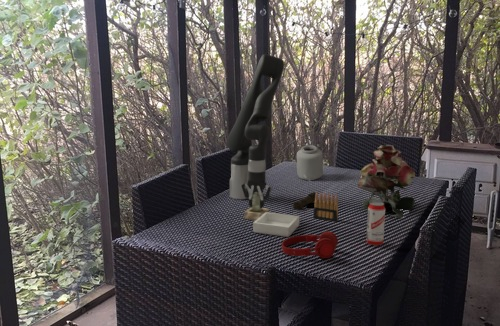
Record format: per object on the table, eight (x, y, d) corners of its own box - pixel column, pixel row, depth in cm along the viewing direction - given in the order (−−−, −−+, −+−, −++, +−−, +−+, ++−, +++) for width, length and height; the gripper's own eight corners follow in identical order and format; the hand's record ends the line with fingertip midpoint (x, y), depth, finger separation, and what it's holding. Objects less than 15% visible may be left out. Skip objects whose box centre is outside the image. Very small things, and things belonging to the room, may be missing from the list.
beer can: (364, 241, 191) (366, 201, 188) (379, 240, 192) (382, 200, 188) (369, 247, 185) (371, 206, 182) (385, 246, 186) (388, 205, 182)
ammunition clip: (338, 220, 215) (339, 193, 212) (336, 221, 213) (337, 195, 210) (314, 217, 219) (315, 190, 217) (313, 218, 218) (313, 191, 215)
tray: (253, 232, 201) (253, 222, 200) (265, 220, 214) (265, 211, 213) (288, 237, 195) (288, 227, 194) (299, 225, 209) (299, 216, 208)
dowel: (250, 216, 218) (250, 194, 216) (253, 213, 222) (253, 192, 220) (259, 217, 217) (259, 195, 215) (262, 214, 221) (262, 192, 219)
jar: (316, 183, 275) (317, 139, 270) (291, 181, 281) (292, 137, 275) (325, 176, 292) (327, 134, 287) (301, 174, 298) (302, 132, 292)
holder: (244, 218, 217) (244, 212, 217) (251, 212, 225) (251, 206, 224) (262, 221, 214) (262, 214, 213) (269, 215, 222) (269, 208, 221)
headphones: (340, 246, 185) (288, 247, 192) (338, 228, 184) (286, 229, 190) (334, 261, 171) (278, 262, 178) (332, 242, 170) (276, 243, 177)
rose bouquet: (416, 202, 241) (420, 141, 234) (408, 220, 215) (413, 152, 208) (363, 196, 251) (366, 137, 245) (349, 213, 225) (352, 147, 219)
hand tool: (300, 210, 229) (300, 201, 228) (292, 209, 231) (292, 199, 230) (320, 201, 243) (320, 192, 242) (313, 200, 246) (313, 191, 245)
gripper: (238, 170, 214) (238, 208, 217) (270, 172, 209) (270, 211, 213) (243, 166, 220) (243, 203, 224) (274, 168, 216) (274, 206, 220)
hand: (256, 207), depth 219 cm, fingers closed on dowel, 4 cm apart
